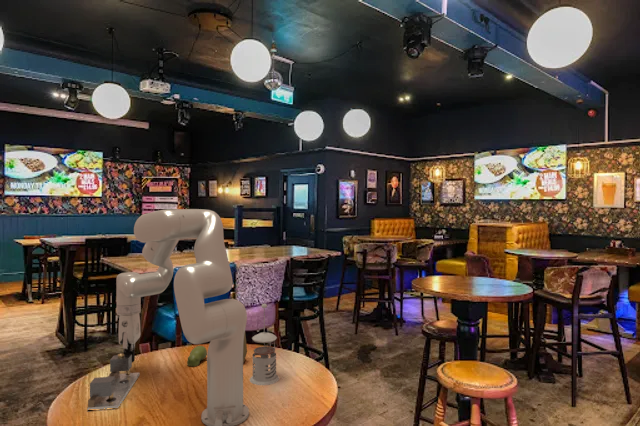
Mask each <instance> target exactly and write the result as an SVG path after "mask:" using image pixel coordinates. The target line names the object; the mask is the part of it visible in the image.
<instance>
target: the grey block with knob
mask: <svg viewBox="0 0 640 426" xmlns="http://www.w3.org/2000/svg"><path fill="white" fill-rule="evenodd" d="M132 366H133V365H132V354H130V355H124V353H123V352H122V353H118V354H117V355H114V354H113V356H112V357H111V358H110V359H109V371H110V373H111V372H117V371H120V372H125V373H126V375H130V373H131V368H132Z"/></svg>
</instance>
